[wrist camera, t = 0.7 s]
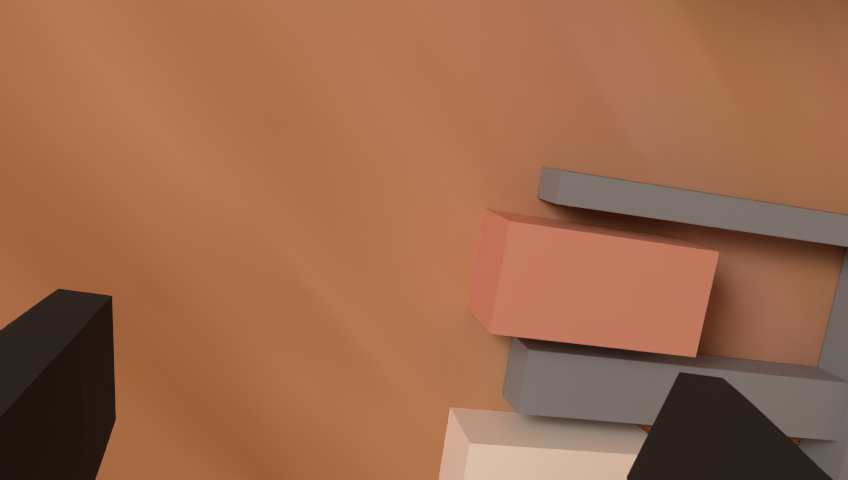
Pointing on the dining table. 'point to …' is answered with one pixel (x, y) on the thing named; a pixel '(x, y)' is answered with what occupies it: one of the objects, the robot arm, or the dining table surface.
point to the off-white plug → (536, 447)
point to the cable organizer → (656, 373)
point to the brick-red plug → (590, 284)
